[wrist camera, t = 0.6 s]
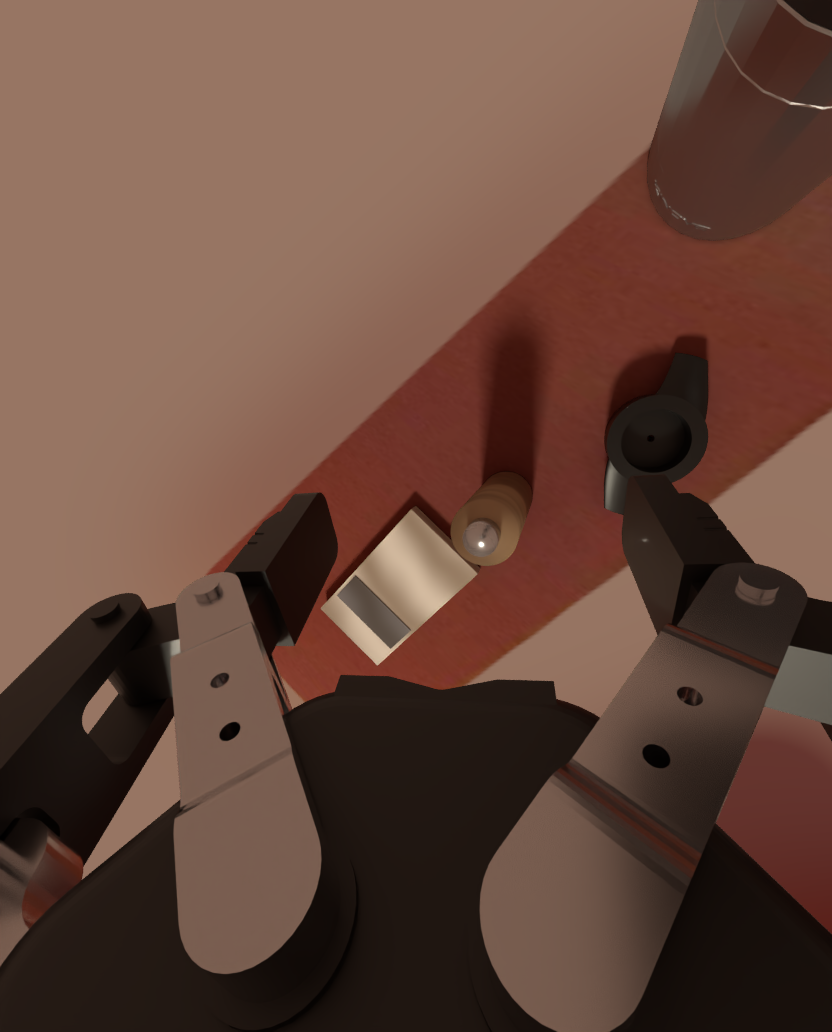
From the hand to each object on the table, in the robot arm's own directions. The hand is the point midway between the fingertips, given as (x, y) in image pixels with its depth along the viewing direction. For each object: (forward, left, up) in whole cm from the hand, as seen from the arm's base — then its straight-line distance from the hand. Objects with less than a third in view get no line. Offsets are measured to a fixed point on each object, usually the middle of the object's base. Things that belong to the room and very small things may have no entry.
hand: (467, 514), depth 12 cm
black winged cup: (-5, +6, -24) cm, 25 cm away
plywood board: (+18, +1, -24) cm, 30 cm away
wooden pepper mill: (+5, +2, -24) cm, 24 cm away
